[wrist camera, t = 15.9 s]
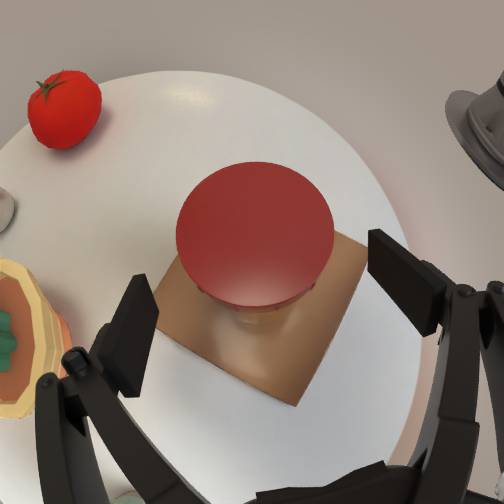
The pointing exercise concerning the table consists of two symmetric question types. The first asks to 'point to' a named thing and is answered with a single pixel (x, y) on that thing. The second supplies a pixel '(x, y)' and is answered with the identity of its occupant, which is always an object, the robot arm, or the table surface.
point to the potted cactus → (26, 339)
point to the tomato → (64, 109)
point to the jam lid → (255, 236)
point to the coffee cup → (129, 499)
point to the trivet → (268, 336)
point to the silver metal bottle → (5, 208)
